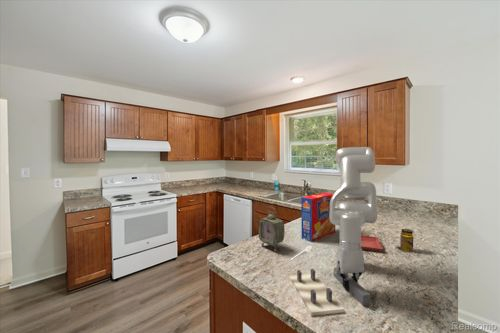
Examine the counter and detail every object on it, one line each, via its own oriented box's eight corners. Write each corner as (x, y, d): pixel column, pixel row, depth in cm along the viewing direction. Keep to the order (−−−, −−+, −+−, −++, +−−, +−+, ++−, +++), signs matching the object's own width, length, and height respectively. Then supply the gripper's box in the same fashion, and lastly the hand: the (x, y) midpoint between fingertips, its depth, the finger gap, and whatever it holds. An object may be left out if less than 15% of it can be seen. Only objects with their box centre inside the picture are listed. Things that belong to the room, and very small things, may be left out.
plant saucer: (383, 254, 119) (383, 248, 119) (347, 249, 126) (348, 244, 126) (377, 242, 136) (377, 237, 136) (346, 238, 143) (346, 233, 142)
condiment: (414, 254, 118) (415, 232, 118) (396, 250, 122) (396, 230, 122) (412, 249, 125) (413, 228, 124) (395, 246, 129) (395, 226, 128)
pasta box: (311, 242, 136) (311, 198, 135) (301, 238, 143) (301, 197, 142) (335, 232, 153) (335, 194, 152) (325, 229, 160) (325, 192, 159)
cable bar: (333, 276, 97) (333, 267, 97) (340, 275, 98) (340, 267, 98) (362, 306, 78) (362, 295, 77) (370, 305, 78) (370, 294, 78)
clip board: (289, 277, 97) (289, 266, 96) (314, 275, 98) (314, 263, 98) (311, 316, 73) (311, 301, 73) (344, 312, 74) (344, 297, 74)
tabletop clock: (258, 245, 132) (258, 205, 131) (268, 241, 138) (268, 203, 137) (275, 253, 121) (275, 209, 120) (286, 249, 127) (285, 207, 126)
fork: (288, 260, 114) (288, 256, 114) (307, 248, 128) (307, 245, 128) (293, 262, 112) (293, 258, 112) (312, 249, 126) (312, 246, 126)
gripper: (362, 239, 92) (362, 281, 92) (326, 241, 90) (326, 284, 90) (375, 246, 84) (374, 291, 85) (336, 249, 82) (336, 296, 83)
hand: (350, 287), depth 88 cm, fingers closed on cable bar, 3 cm apart
